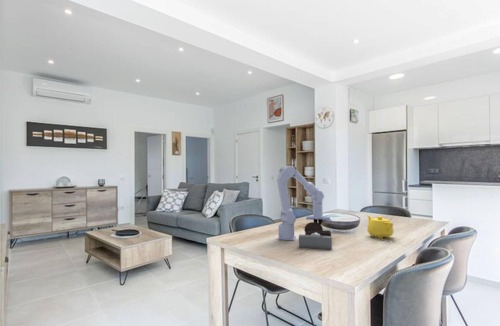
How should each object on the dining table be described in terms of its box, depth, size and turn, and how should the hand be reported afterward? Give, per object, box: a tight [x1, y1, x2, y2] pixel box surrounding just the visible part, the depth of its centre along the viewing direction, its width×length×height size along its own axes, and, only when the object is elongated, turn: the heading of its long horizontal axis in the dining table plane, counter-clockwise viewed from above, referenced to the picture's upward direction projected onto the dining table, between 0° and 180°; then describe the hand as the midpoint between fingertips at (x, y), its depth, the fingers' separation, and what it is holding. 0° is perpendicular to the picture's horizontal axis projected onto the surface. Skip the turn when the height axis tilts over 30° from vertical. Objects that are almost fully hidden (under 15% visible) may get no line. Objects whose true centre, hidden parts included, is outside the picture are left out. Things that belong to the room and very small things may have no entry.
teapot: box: [366, 214, 394, 240], centre depth 168 cm, size 13×20×12 cm
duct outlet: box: [298, 233, 333, 250], centre depth 148 cm, size 17×5×7 cm, turn 73°
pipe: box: [304, 221, 332, 236], centre depth 162 cm, size 10×15×15 cm
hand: (318, 231), depth 173 cm, fingers closed
